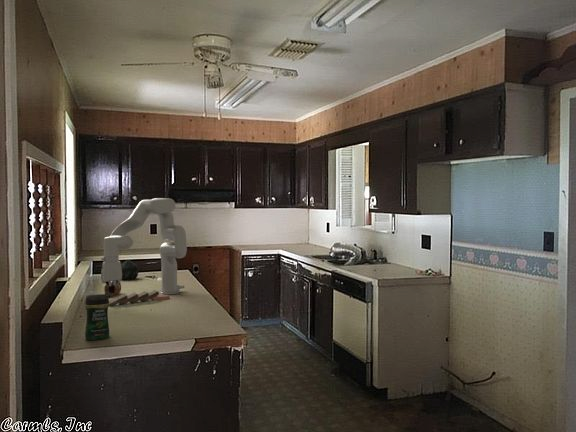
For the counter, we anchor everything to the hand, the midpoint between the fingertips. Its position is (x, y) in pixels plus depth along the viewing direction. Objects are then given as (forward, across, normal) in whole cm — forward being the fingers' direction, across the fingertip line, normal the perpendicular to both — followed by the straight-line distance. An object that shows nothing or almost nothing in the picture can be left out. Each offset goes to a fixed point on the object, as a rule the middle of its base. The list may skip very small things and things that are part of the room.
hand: (111, 292), depth 266 cm
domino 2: (+6, +4, 0) cm, 8 cm away
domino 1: (+6, -2, 0) cm, 6 cm away
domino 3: (+6, +10, 0) cm, 12 cm away
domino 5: (+6, +23, 0) cm, 24 cm away
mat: (+8, +8, 0) cm, 11 cm away
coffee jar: (+8, -26, -55) cm, 61 cm away
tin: (+8, +12, +31) cm, 34 cm away
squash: (+8, +40, +81) cm, 91 cm away
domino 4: (+6, +17, 0) cm, 18 cm away
